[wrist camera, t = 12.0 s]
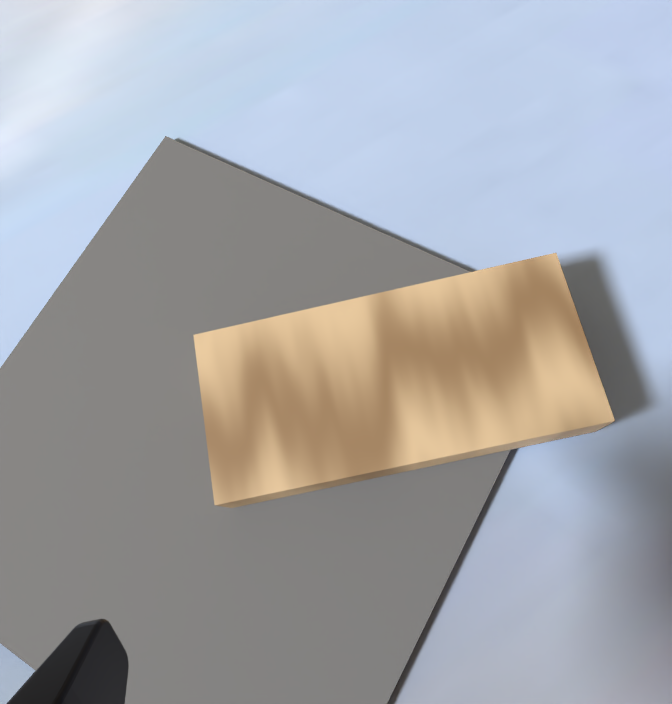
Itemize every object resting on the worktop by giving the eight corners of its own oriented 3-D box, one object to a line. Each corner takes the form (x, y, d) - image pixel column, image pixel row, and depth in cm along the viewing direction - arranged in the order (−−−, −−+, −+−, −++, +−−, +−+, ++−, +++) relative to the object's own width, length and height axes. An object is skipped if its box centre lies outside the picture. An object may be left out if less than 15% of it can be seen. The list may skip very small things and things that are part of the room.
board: (232, 508, 21) (594, 432, 20) (214, 505, 19) (614, 420, 18) (211, 352, 23) (542, 278, 22) (193, 334, 21) (555, 252, 20)
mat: (572, 321, 22) (574, 318, 22) (304, 869, 18) (302, 876, 18) (169, 141, 27) (165, 136, 26) (-117, 545, 23) (-126, 545, 22)
